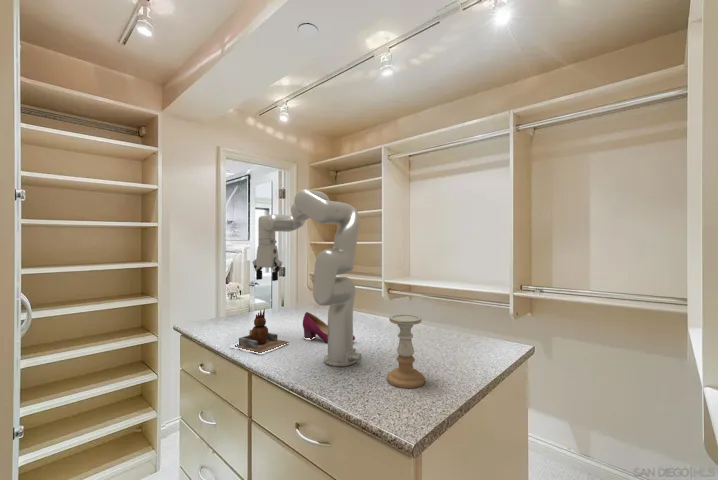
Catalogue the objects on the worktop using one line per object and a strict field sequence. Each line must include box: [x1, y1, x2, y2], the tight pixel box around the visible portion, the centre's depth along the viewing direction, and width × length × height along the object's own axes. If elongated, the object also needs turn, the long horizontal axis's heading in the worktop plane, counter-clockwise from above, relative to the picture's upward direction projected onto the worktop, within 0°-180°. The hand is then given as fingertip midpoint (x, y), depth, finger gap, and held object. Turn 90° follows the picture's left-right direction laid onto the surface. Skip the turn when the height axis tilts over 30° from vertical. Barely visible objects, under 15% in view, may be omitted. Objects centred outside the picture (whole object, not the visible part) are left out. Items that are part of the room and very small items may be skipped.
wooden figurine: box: [251, 308, 269, 345], centre depth 140 cm, size 7×6×15 cm
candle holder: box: [386, 314, 426, 389], centre depth 105 cm, size 12×12×20 cm
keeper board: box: [235, 329, 290, 353], centre depth 140 cm, size 19×16×6 cm
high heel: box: [302, 311, 356, 343], centre depth 147 cm, size 9×26×12 cm, turn 75°
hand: (267, 280), depth 149 cm, fingers open, 9 cm apart
